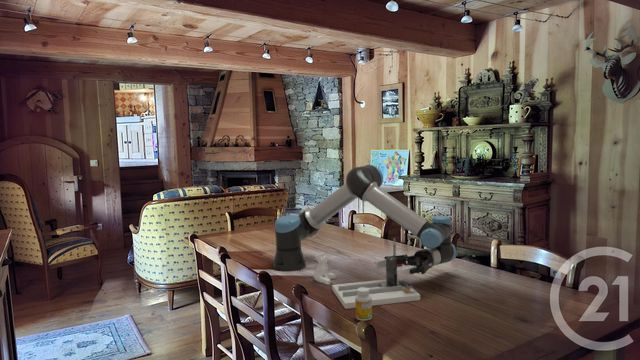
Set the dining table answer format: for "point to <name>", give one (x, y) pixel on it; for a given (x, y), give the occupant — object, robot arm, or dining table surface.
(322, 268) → the white creature statuette
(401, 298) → the rail board
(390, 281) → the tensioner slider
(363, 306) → the supplement bottle
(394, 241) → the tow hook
